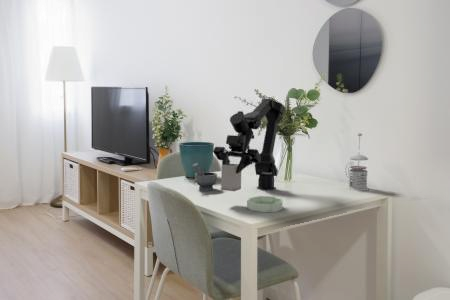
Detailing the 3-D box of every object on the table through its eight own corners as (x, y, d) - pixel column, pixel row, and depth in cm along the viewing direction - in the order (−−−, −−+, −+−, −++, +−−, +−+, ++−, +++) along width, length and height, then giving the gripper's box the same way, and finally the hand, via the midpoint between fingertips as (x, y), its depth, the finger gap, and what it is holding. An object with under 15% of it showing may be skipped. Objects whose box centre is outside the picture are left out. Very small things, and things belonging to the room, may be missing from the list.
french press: (373, 189, 204) (376, 133, 201) (353, 191, 198) (356, 134, 195) (358, 185, 212) (360, 131, 209) (338, 187, 207) (340, 132, 204)
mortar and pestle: (211, 186, 209) (211, 160, 208) (220, 190, 201) (220, 163, 200) (188, 188, 204) (188, 162, 203) (197, 192, 196) (197, 165, 194)
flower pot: (175, 174, 240) (175, 142, 237) (208, 172, 245) (208, 140, 243) (183, 180, 222) (182, 146, 220) (218, 178, 228) (218, 144, 226)
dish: (267, 201, 180) (267, 194, 180) (289, 209, 169) (289, 201, 169) (240, 206, 173) (240, 198, 172) (262, 214, 162) (262, 205, 162)
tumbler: (228, 187, 179) (228, 163, 178) (240, 188, 176) (241, 164, 175) (221, 189, 174) (221, 165, 173) (234, 191, 171) (234, 166, 170)
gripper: (215, 126, 180) (200, 157, 172) (258, 128, 171) (245, 161, 163) (225, 143, 188) (211, 174, 180) (266, 146, 179) (254, 179, 171)
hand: (229, 172), depth 173 cm, fingers closed on tumbler, 6 cm apart
